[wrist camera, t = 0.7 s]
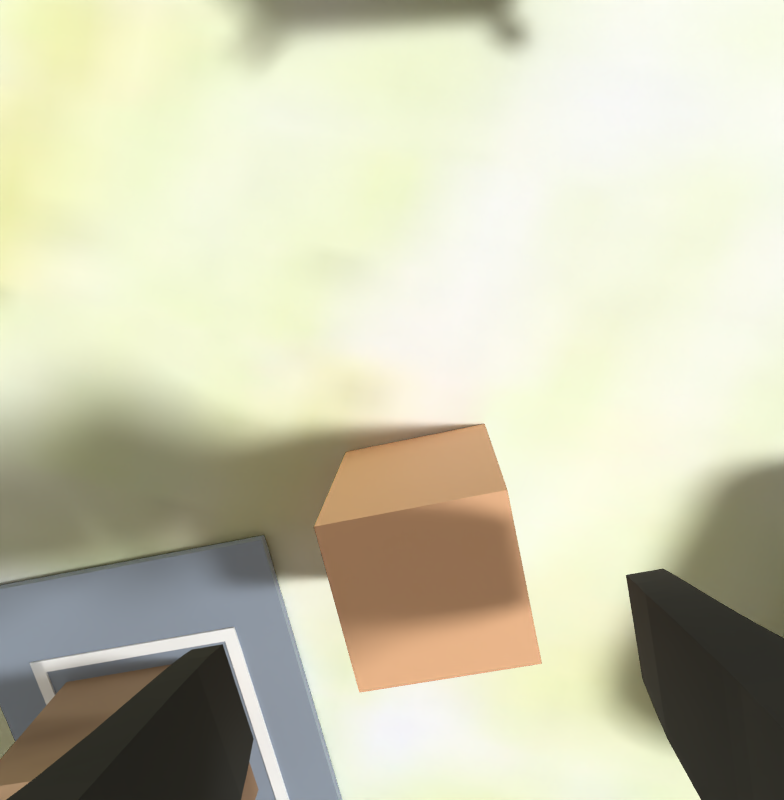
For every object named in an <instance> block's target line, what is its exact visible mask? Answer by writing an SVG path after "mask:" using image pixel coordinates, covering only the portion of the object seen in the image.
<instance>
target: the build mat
mask: <svg viewBox="0 0 784 800" xmlns="http://www.w3.org/2000/svg"><path fill="white" fill-rule="evenodd" d="M221 644H223V647H224V650H225V653H226V656H227V659H228V662H229V665H230V668H231V671H232V674H233V677H234V680H235V683H236V686H237V689H238V692H239V695H240V699H241V702H242V705H243V708H244V711H245V714H246V717H247V720H248V723H249V726H250V729H251V732H252V735H253V738H254V740H253V745H252V750H251V755H250V760H249V762H250V765H251V768H252V771H253V774H254V777H255V780H256V783H257V786H258V789H259V790H258V793H257V796H256V799H255V800H342V797H341V794H340V790H339V787H338V784H337V780H336V777H335V773H334V770H333V767H332V763H331V760H330V756H329V753H328V750H327V746H326V743H325V740H324V736H323V733H322V729H321V726H320V723H319V719H318V716H317V712H316V709H315V706H314V702H313V699H312V695H311V692H310V689H309V685H308V682H307V679H306V675H305V672H304V668H303V665H302V662H301V658H300V655H299V651H298V648H297V645H296V641H295V638H294V634H293V631H292V628H291V624H290V621H289V618H288V614H287V611H286V607H285V604H284V601H283V597H282V594H281V590H280V587H279V584H278V580H277V577H276V573H275V570H274V567H273V563H272V560H271V557H270V553H269V550H268V546H267V543H266V540H265V536H264V535H262V536H257V537H252V538H247V539H241V540H236V541H231V542H226V543H220V544H215V545H210V546H205V547H199V548H194V549H189V550H184V551H178V552H173V553H168V554H163V555H157V556H152V557H147V558H142V559H136V560H131V561H126V562H121V563H115V564H110V565H105V566H100V567H94V568H89V569H84V570H79V571H73V572H68V573H63V574H58V575H52V576H47V577H42V578H36V579H31V580H26V581H21V582H15V583H10V584H5V585H0V707H1V709H2V711H3V714H4V716H5V718H6V721H7V723H8V725H9V728H10V730H11V733H12V735H13V737H14V740H15V742H16V740H17V739H18V738H19V737H20V736H21V735H22V733H23V732H24V731H25V730H26V729H27V728H28V726H29V725H30V724H31V723H32V722H33V721H34V719H35V718H36V717H37V716H38V715H39V714H40V712H41V711H42V710H43V709H44V708H45V707H46V705H47V704H48V703H49V702H50V701H51V699H52V698H53V697H54V696H55V695H56V694H57V692H58V691H59V690H60V689H61V688H62V687H63V685H64V684H65V683H66V682H70V681H76V680H82V679H87V678H93V677H99V676H105V675H111V674H117V673H123V672H129V671H135V670H141V669H147V668H152V667H158V666H164V665H170V664H172V663H174V662H175V661H176V660H178V659H179V658H180V657H182V656H183V655H184V654H186V653H187V652H189V651H190V650H192V649H198V648H203V647H209V646H215V645H221Z"/></svg>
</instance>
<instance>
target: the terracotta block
mask: <svg viewBox="0 0 784 800" xmlns="http://www.w3.org/2000/svg"><path fill="white" fill-rule="evenodd" d="M314 529H315V533H316V536H317V540H318V544H319V547H320V551H321V554H322V558H323V562H324V565H325V569H326V573H327V576H328V580H329V584H330V587H331V591H332V594H333V598H334V602H335V605H336V609H337V613H338V616H339V620H340V624H341V627H342V631H343V634H344V638H345V642H346V645H347V649H348V653H349V656H350V660H351V663H352V667H353V671H354V674H355V678H356V682H357V685H358V689H359V692H366V691H372V690H378V689H385V688H391V687H397V686H403V685H410V684H416V683H422V682H429V681H435V680H441V679H448V678H454V677H460V676H467V675H473V674H479V673H485V672H492V671H498V670H504V669H511V668H517V667H523V666H530V665H536V664H542V662H541V657H540V652H539V647H538V642H537V637H536V632H535V627H534V622H533V617H532V612H531V607H530V602H529V597H528V591H527V586H526V581H525V576H524V571H523V566H522V561H521V556H520V551H519V546H518V541H517V536H516V531H515V526H514V521H513V516H512V511H511V506H510V501H509V496H508V491H507V488H506V485H505V482H504V479H503V476H502V473H501V470H500V467H499V464H498V461H497V459H496V456H495V453H494V450H493V447H492V444H491V441H490V438H489V435H488V432H487V429H486V427H485V424H481V425H476V426H471V427H466V428H461V429H456V430H451V431H447V432H442V433H437V434H432V435H427V436H422V437H417V438H412V439H407V440H402V441H397V442H392V443H387V444H382V445H377V446H373V447H368V448H363V449H358V450H353V451H348V452H346V453H345V455H344V457H343V460H342V462H341V464H340V467H339V469H338V471H337V474H336V476H335V478H334V481H333V483H332V485H331V488H330V490H329V492H328V495H327V497H326V499H325V502H324V504H323V506H322V509H321V511H320V513H319V516H318V518H317V521H316V523H315V525H314Z"/></svg>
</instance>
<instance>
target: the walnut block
mask: <svg viewBox="0 0 784 800" xmlns="http://www.w3.org/2000/svg"><path fill="white" fill-rule="evenodd" d="M170 665H171V664H170ZM170 665H164V666H158V667H152V668H147V669H141V670H135V671H129V672H123V673H117V674H111V675H105V676H99V677H93V678H87V679H82V680H76V681H70V682H66V683H65V684H64V685H63V687H62V688H61V689H60V690H59V691H58V692H57V694H56V695H55V696H54V697H53V698H52V699H51V701H50V702H49V703H48V704H47V705H46V707H45V708H44V709H43V710H42V711H41V712H40V714H39V715H38V716H37V717H36V718H35V719H34V721H33V722H32V723H31V724H30V725H29V726H28V728H27V729H26V730H25V731H24V732H23V733H22V735H21V736H20V737H19V738H18V739H17V740H16V742H15V743H14V744H13V745H12V746H11V747H10V749H9V750H8V751H7V752H6V753H5V754H4V756H3V757H2V758H1V759H0V800H6V799H8V798H9V797H10V796H12V795H13V794H14V793H16V792H17V791H18V790H20V789H21V788H22V787H24V786H25V785H26V784H28V783H29V782H30V781H32V780H33V779H34V778H36V777H37V776H38V775H39V774H40V773H42V772H43V771H44V770H45V769H47V768H48V767H49V766H50V765H52V764H53V763H54V762H55V761H57V760H58V759H59V758H60V757H62V756H63V755H64V754H65V753H66V752H68V751H69V750H70V749H71V748H73V747H74V746H75V745H76V744H78V743H79V742H80V741H81V740H83V739H84V738H85V737H86V736H88V735H89V734H90V733H91V732H92V731H94V730H95V729H96V728H97V727H98V726H99V725H101V724H102V723H103V722H104V721H105V720H106V719H108V718H109V717H110V716H111V715H112V714H113V713H115V712H116V711H117V710H118V709H119V708H121V707H122V706H123V705H124V704H125V703H126V702H128V701H129V700H130V699H131V698H132V697H133V696H135V695H136V694H137V693H138V692H139V691H140V690H141V689H143V688H144V687H145V686H146V685H147V684H148V683H150V682H151V681H152V680H153V679H154V678H156V677H157V676H158V675H159V674H160V673H161V672H163V671H164V670H165V669H166V668H168V667H169V666H170ZM258 790H259V789H258V786H257V783H256V780H255V777H254V774H253V771H252V768H251V765H250V762H249V766H248V771H247V775H246V780H245V784H244V789H243V793H242V798H241V800H255V799H256V796H257V793H258Z"/></svg>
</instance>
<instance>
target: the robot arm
mask: <svg viewBox="0 0 784 800" xmlns="http://www.w3.org/2000/svg"><path fill="white" fill-rule="evenodd" d="M626 578H627V584H628V590H629V597H630V603H631V609H632V615H633V622H634V628H635V634H636V641H637V647H638V653H639V660H640V666H641V672H642V679H643V682H644V684H645V686H646V689H647V691H648V694H649V696H650V699H651V701H652V703H653V706H654V708H655V711H656V713H657V715H658V718H659V720H660V722H661V725H662V727H663V729H664V732H665V734H666V736H667V739H668V740H669V742H670V744H671V746H672V748H673V750H674V751H675V753H676V755H677V757H678V759H679V761H680V762H681V764H682V766H683V768H684V770H685V771H686V773H687V775H688V777H689V779H690V780H691V782H692V784H693V786H694V788H695V789H696V791H697V793H698V795H699V797H700V798H701V800H784V638H782V637H780V636H778V635H777V634H775V633H773V632H771V631H769V630H767V629H765V628H764V627H762V626H760V625H758V624H756V623H755V622H753V621H751V620H749V619H748V618H746V617H744V616H742V615H740V614H739V613H737V612H735V611H734V610H732V609H730V608H728V607H727V606H725V605H723V604H722V603H720V602H718V601H717V600H715V599H713V598H712V597H710V596H708V595H707V594H705V593H703V592H702V591H700V590H698V589H697V588H695V587H693V586H692V585H690V584H688V583H687V582H685V581H683V580H682V579H680V578H678V577H677V576H675V575H673V574H672V573H670V572H668V571H666V570H664V569H659V570H653V571H647V572H642V573H636V574H630V575H626ZM253 740H254V738H253V735H252V732H251V729H250V726H249V723H248V720H247V717H246V714H245V711H244V708H243V705H242V702H241V699H240V695H239V692H238V689H237V686H236V683H235V680H234V677H233V674H232V671H231V668H230V665H229V662H228V659H227V656H226V653H225V650H224V647H223V644H221V645H215V646H209V647H203V648H198V649H192V650H190V651H189V652H187V653H186V654H184V655H183V656H182V657H180V658H179V659H178V660H176V661H175V662H174V663H172V664H171V665H170V666H169V667H168V668H166V669H165V670H164V671H163V672H161V673H160V674H159V675H158V676H157V677H156V678H154V679H153V680H152V681H151V682H150V683H148V684H147V685H146V686H145V687H144V688H143V689H141V690H140V691H139V692H138V693H137V694H136V695H135V696H133V697H132V698H131V699H130V700H129V701H128V702H126V703H125V704H124V705H123V706H122V707H121V708H119V709H118V710H117V711H116V712H115V713H113V714H112V715H111V716H110V717H109V718H108V719H106V720H105V721H104V722H103V723H102V724H101V725H99V726H98V727H97V728H96V729H95V730H94V731H92V732H91V733H90V734H89V735H88V736H86V737H85V738H84V739H83V740H81V741H80V742H79V743H78V744H76V745H75V746H74V747H73V748H71V749H70V750H69V751H68V752H66V753H65V754H64V755H63V756H62V757H60V758H59V759H58V760H57V761H55V762H54V763H53V764H52V765H50V766H49V767H48V768H47V769H45V770H44V771H43V772H42V773H40V774H39V775H38V776H37V777H36V778H34V779H33V780H32V781H30V782H29V783H28V784H26V785H25V786H24V787H22V788H21V789H20V790H18V791H17V792H16V793H14V794H13V795H12V796H10V797H9V798H8V799H6V800H241V798H242V793H243V789H244V784H245V780H246V775H247V771H248V766H249V760H250V755H251V750H252V745H253Z"/></svg>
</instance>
